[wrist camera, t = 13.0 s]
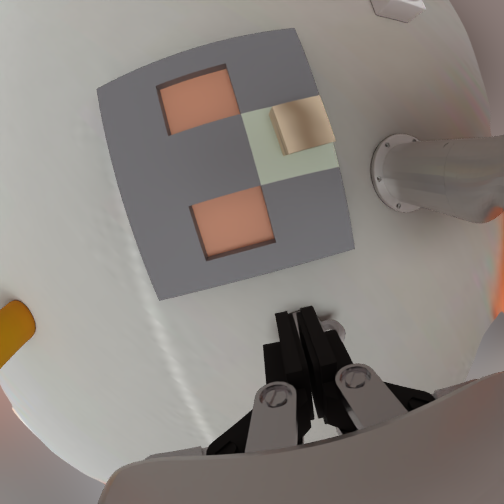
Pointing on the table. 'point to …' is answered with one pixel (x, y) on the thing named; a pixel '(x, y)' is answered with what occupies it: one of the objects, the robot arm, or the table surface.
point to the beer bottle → (14, 329)
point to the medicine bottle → (398, 9)
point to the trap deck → (221, 165)
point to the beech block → (301, 125)
